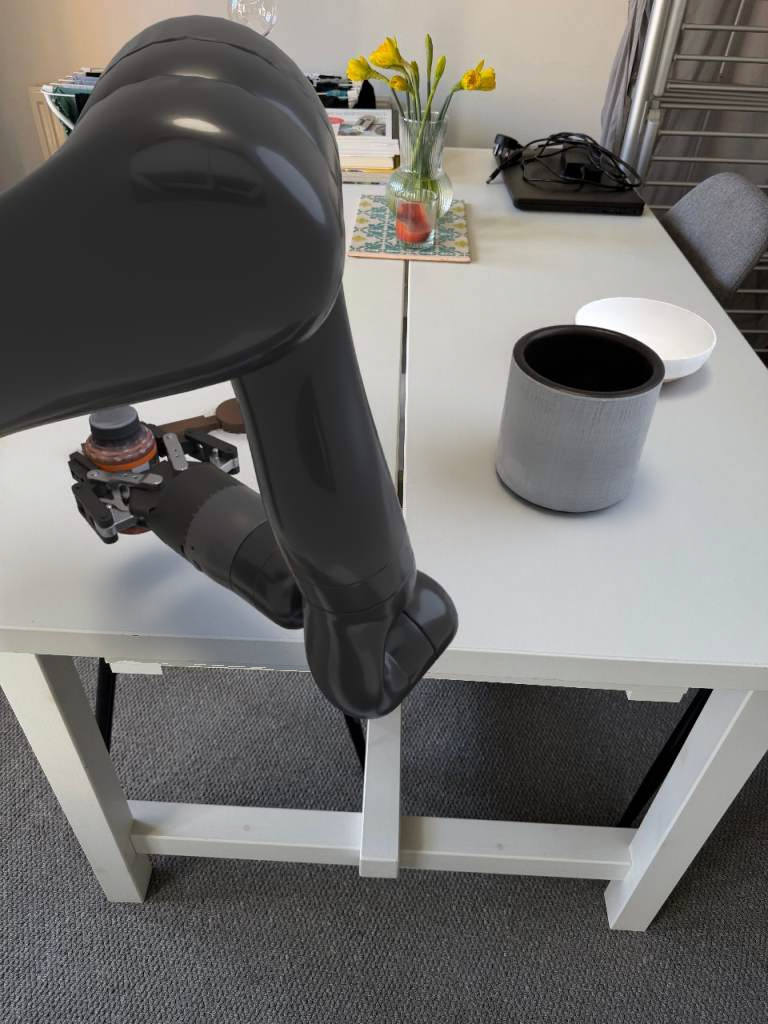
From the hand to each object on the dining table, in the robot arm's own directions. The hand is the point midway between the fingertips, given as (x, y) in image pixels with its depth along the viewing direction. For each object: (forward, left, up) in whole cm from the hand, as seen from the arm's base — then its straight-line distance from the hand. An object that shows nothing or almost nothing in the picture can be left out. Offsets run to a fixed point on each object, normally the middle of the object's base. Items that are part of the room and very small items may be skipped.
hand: (107, 446), depth 66 cm
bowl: (+74, +10, -14) cm, 76 cm away
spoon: (+9, +20, -14) cm, 26 cm away
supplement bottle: (+1, -2, -7) cm, 8 cm away
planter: (+48, -7, -14) cm, 50 cm away
